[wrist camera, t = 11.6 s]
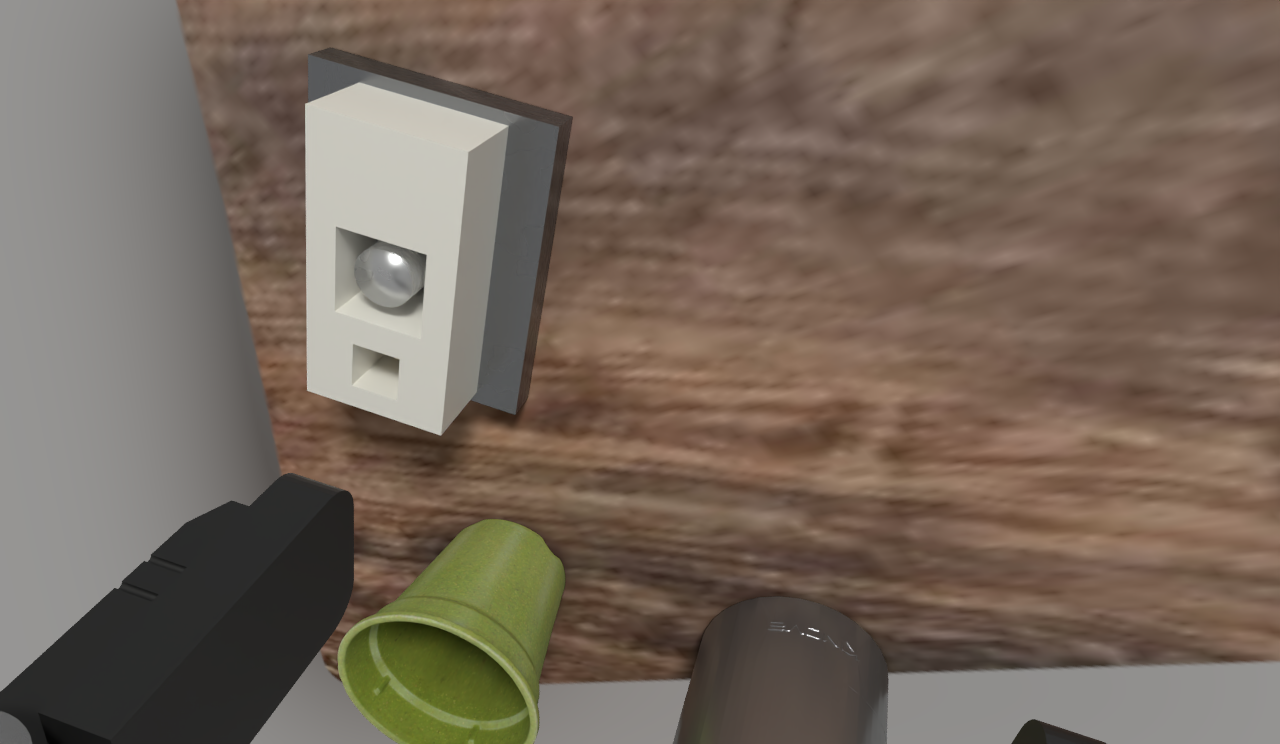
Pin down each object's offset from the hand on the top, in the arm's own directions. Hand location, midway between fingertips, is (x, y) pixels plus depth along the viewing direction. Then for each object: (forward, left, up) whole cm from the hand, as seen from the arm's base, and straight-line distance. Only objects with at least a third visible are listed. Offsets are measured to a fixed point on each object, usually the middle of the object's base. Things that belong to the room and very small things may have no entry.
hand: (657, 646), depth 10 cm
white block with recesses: (-9, +14, -23) cm, 28 cm away
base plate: (-9, +14, -24) cm, 30 cm away
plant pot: (-26, +9, -25) cm, 37 cm away
